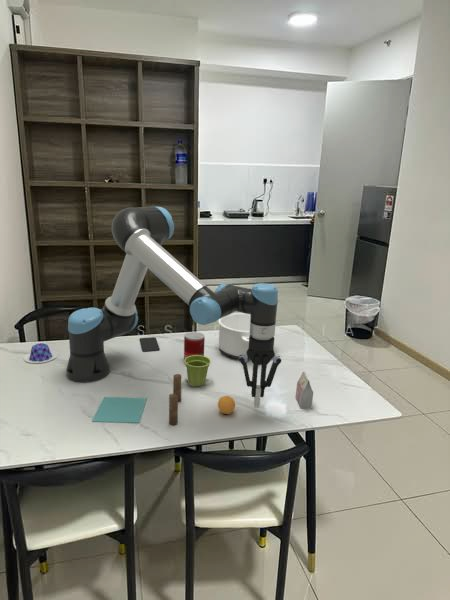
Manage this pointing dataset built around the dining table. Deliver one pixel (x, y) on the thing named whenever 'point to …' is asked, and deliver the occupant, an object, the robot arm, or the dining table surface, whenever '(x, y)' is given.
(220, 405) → the ball
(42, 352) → the pudding
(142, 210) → the robot arm
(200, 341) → the canned food
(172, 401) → the post near
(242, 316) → the pot
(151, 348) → the phone
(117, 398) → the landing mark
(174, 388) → the post far
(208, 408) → the dining table surface
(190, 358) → the plant pot
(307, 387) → the white red carton
